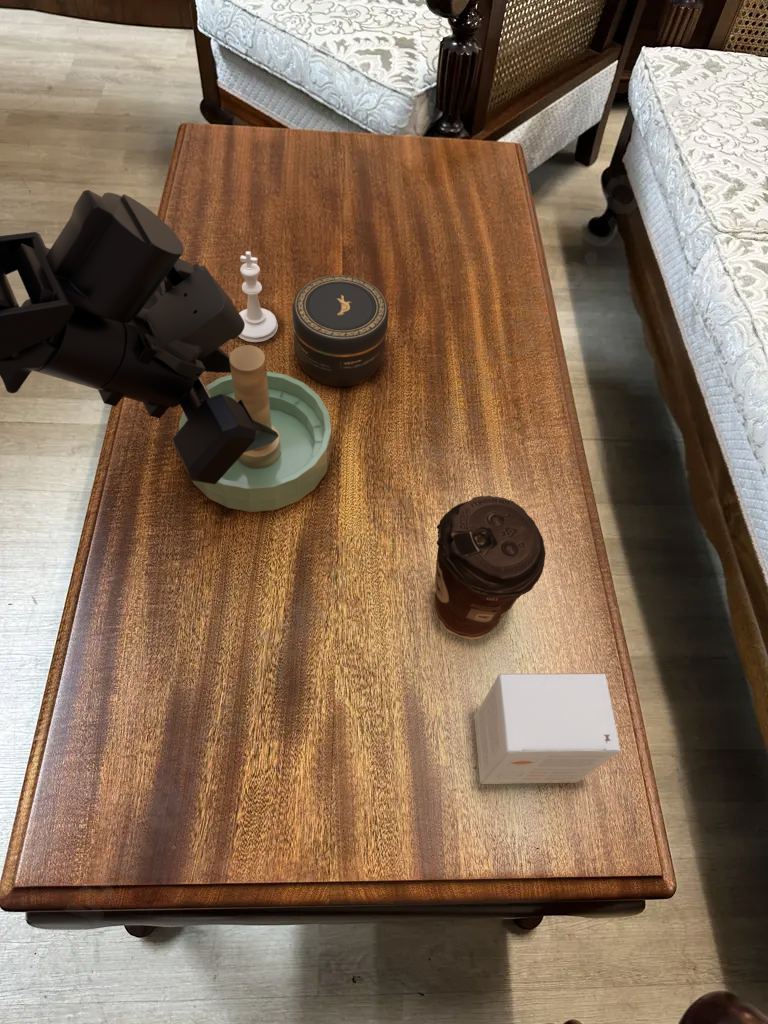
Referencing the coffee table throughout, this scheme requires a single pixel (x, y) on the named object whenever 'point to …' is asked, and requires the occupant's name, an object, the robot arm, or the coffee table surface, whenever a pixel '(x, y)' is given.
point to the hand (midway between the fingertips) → (253, 401)
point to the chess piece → (255, 305)
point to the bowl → (301, 449)
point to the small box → (545, 728)
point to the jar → (339, 329)
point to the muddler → (254, 400)
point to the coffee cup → (484, 564)
